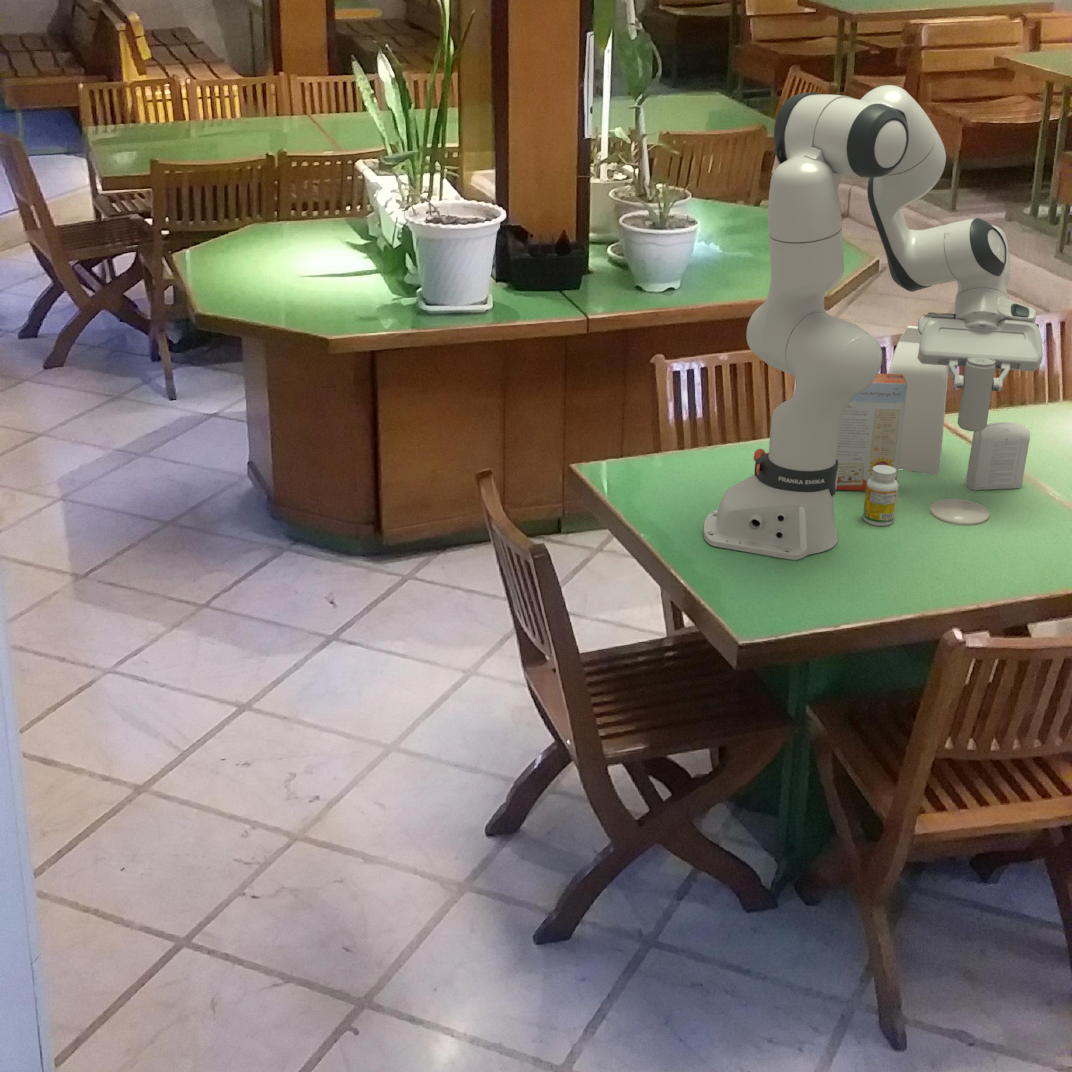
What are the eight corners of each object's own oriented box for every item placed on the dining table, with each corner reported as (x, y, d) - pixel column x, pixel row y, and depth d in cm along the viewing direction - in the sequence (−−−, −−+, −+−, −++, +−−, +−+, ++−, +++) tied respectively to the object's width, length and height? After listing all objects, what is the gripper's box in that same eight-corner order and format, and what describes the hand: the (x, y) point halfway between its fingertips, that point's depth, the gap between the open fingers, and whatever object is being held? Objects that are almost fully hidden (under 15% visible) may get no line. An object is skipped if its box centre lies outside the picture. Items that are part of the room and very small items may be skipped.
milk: (872, 466, 275) (888, 333, 264) (878, 445, 285) (893, 316, 274) (938, 474, 272) (956, 340, 261) (941, 452, 282) (959, 322, 271)
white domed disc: (931, 522, 252) (931, 519, 251) (928, 499, 261) (929, 496, 260) (991, 527, 250) (991, 524, 250) (986, 504, 259) (986, 501, 259)
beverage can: (987, 433, 246) (997, 365, 241) (957, 431, 247) (967, 363, 242) (985, 423, 250) (995, 356, 245) (956, 421, 251) (965, 354, 246)
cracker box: (891, 480, 269) (904, 372, 260) (895, 493, 263) (909, 383, 254) (814, 477, 270) (825, 369, 261) (817, 490, 264) (827, 380, 255)
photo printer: (1015, 480, 269) (1025, 417, 264) (1025, 489, 265) (1035, 426, 260) (961, 483, 268) (971, 419, 263) (971, 492, 264) (980, 428, 259)
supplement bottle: (888, 529, 249) (894, 477, 245) (858, 522, 252) (863, 471, 247) (898, 518, 253) (904, 467, 249) (868, 511, 256) (874, 460, 252)
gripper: (920, 302, 248) (916, 375, 244) (1045, 310, 245) (1043, 384, 240) (916, 320, 254) (912, 392, 250) (1038, 328, 251) (1036, 400, 246)
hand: (977, 388), depth 245 cm, fingers closed on beverage can, 5 cm apart
